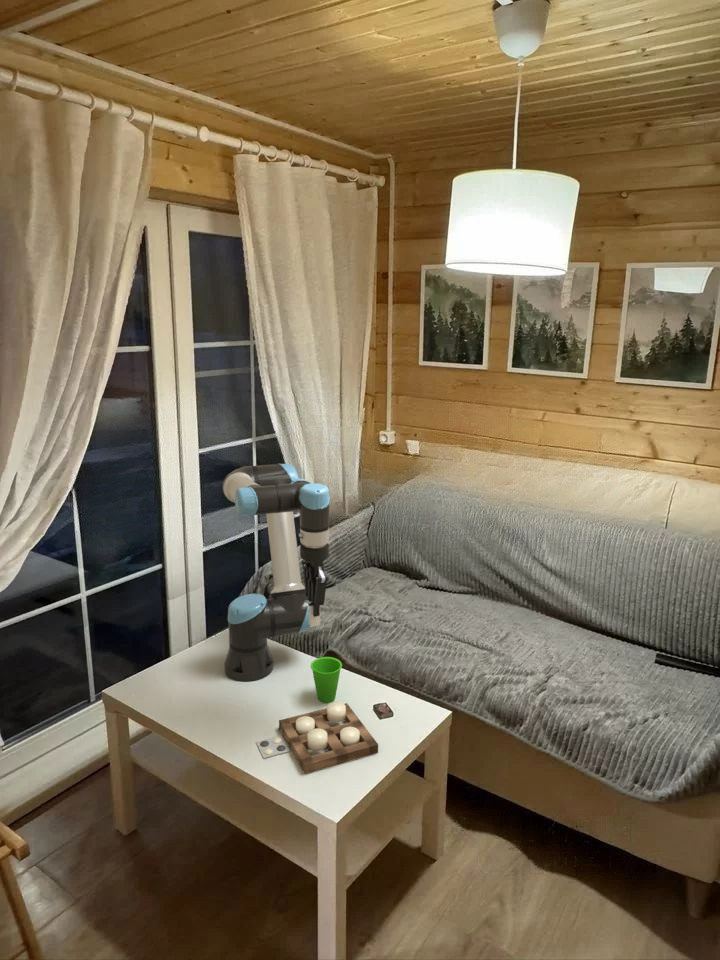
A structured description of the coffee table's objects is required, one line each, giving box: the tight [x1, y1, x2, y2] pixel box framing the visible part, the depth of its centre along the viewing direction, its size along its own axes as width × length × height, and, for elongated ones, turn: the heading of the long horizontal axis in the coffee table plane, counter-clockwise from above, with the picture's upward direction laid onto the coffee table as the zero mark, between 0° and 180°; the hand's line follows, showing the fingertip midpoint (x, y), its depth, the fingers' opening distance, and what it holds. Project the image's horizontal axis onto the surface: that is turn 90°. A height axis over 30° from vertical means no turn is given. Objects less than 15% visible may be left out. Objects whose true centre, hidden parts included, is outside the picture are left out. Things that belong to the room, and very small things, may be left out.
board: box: [278, 702, 379, 775], centre depth 180 cm, size 20×20×2 cm
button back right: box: [295, 716, 315, 736], centre depth 181 cm, size 5×5×3 cm
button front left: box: [340, 727, 360, 747], centre depth 177 cm, size 5×5×3 cm
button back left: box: [326, 701, 346, 723], centre depth 185 cm, size 5×5×3 cm
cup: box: [310, 656, 343, 704], centre depth 197 cm, size 9×9×11 cm
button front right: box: [308, 728, 327, 752], centre depth 173 cm, size 5×5×3 cm
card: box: [255, 734, 291, 760], centre depth 177 cm, size 7×7×1 cm
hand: (314, 624), depth 184 cm, fingers closed
